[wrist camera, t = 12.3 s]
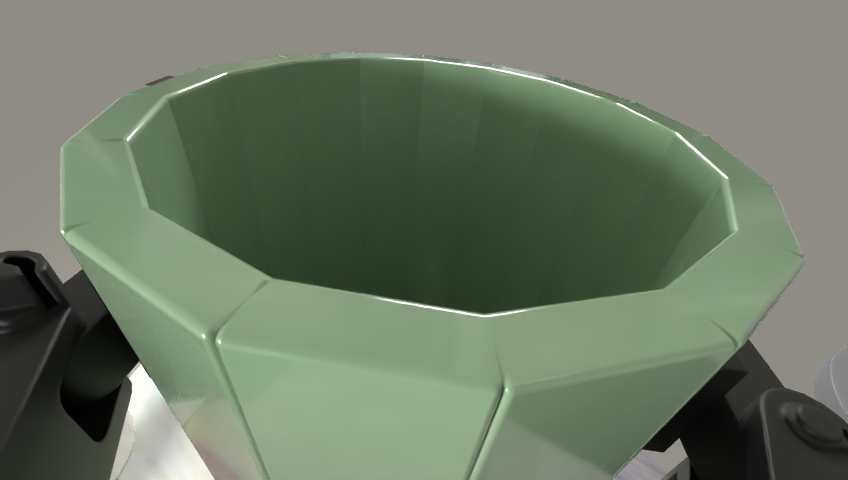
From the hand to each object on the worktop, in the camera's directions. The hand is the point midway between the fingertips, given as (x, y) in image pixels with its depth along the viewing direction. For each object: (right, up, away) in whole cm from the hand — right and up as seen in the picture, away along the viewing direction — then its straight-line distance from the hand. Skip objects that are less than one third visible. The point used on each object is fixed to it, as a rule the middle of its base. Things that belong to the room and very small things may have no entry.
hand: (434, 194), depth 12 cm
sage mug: (-1, -6, +2) cm, 6 cm away
